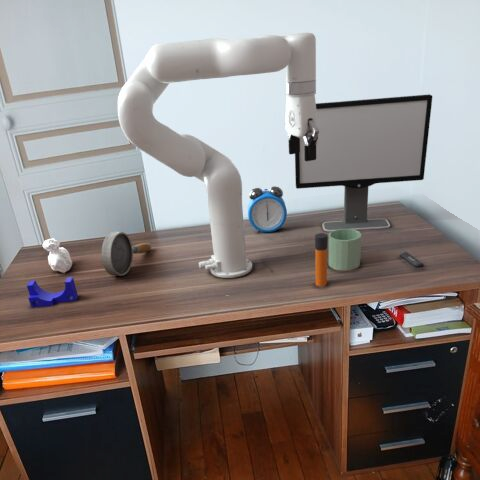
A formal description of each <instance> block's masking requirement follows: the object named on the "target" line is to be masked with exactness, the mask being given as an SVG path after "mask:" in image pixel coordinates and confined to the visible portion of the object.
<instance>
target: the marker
mask: <svg viewBox="0 0 480 480" xmlns="http://www.w3.org/2000/svg"><path fill="white" fill-rule="evenodd" d="M328 235H329V234H327V233H325V232H324V233H323V232H320V233H316V234H315V235H314V249H315V251H314V252H315V285H316V286H317V287H325V286H327V284H328Z"/></svg>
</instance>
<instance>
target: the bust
mask: <svg viewBox="0 0 480 480" xmlns="http://www.w3.org/2000/svg"><path fill="white" fill-rule="evenodd" d="M60 244H61V242H60V241H59V240H57V239H55V237H53V238H51V237H50V238H48V239H45V240H43V243H42V245H41V246H42V248H43V249H44V250H45V251H47V252H49V254H48V255H47V260H48V265H49V266H50V268H51V270H53V271H54V272H60V273H62V274H65V273H66V272H69V271H70V270H71V268H72V266H73V260H72V259H71V254H70V252H69V251H68V250H67V249H66V248H65V247H63V246H62V247H60V246H61V245H60Z"/></svg>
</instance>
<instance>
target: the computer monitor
mask: <svg viewBox="0 0 480 480" xmlns="http://www.w3.org/2000/svg"><path fill="white" fill-rule="evenodd" d="M432 105H433V95H432V94H430V93H429V94H428V93H427V94H417V95H406V96H405V95H404V96H392V97H382V98H381V97H380V98H367V99H356V100H355V99H354V100H343V101H331V102H319V103H318V102H317V103H316V116H317V127H318V128H319V134H318V140H317V145H316V160H312V161H305V157H304V146H306V144H305V141H304V138H303V136H302V137H301V138H300V153H296V154H294V175H295V177H294V179H295V188H296V189H297V190H298V189H310V188H326V187H329V188H330V187H340V186H342V187H344V196H343V198H344V199H343V220H335V221H334V220H333V221H325V222H322V224H321V225H322V229H323V231H325V232H328V233H330V232H332V231H334V230H338V229H353V230H357V231H363V230H378V229H381V230H383V229H389V228H390V227H391V224H390V222H389V220H388V219H386V218H381V217H380V218H368V203H369V202H368V200H369V187H371V186H373V185H376V184H385V183H386V184H387V183H399V182H414V181H416V182H417V181H423V180H424V179H425V172H426V170H425V169H426V162H427V161H426V160H427V152H428V143H429V134H430V123H431V113H432ZM298 138H299V137H298ZM309 138H310V137H308V140H309Z"/></svg>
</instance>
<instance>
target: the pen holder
mask: <svg viewBox="0 0 480 480" xmlns="http://www.w3.org/2000/svg"><path fill="white" fill-rule="evenodd" d="M327 235H328V247H327V265H328V266H329V267H330V268H331V269H334V270H338V271H351V270H355V269H358V268H359V267H360V265H361V255H362V254H361V253H362V233H361V232H360V230H353V229H338V230H334V231H332V232H328V234H327Z"/></svg>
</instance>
